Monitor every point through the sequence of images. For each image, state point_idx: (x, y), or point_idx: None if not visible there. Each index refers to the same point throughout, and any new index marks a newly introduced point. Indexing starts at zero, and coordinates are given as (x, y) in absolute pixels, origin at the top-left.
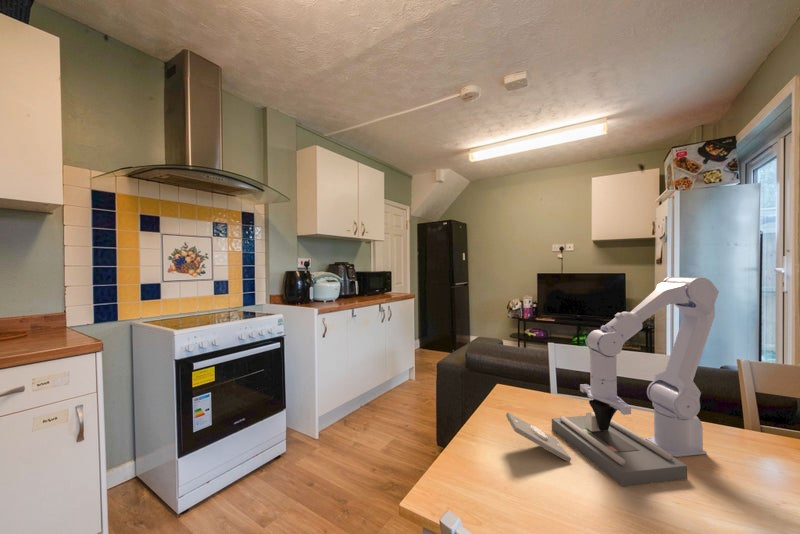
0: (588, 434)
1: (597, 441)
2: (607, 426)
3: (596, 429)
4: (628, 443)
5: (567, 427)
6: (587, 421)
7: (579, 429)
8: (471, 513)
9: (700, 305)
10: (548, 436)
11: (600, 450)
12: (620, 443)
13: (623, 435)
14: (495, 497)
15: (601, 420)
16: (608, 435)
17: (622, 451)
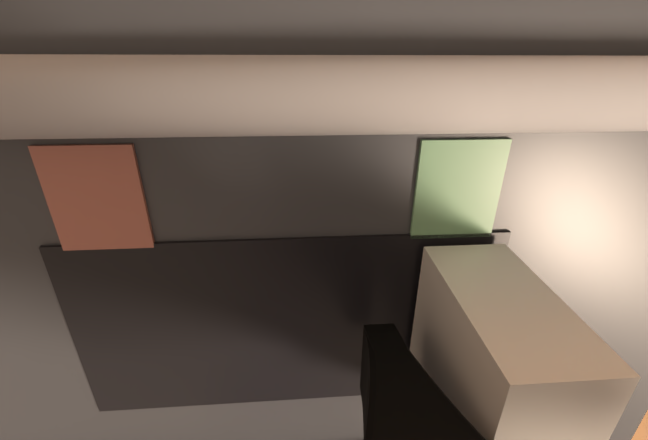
0: (296, 112)
1: (95, 99)
2: (364, 414)
3: (422, 306)
4: (199, 402)
5: (611, 40)
6: (527, 293)
7: (449, 82)
8: None
9: None
10: None
11: None
12: (199, 351)
13: (320, 436)
14: None
15: (366, 434)
16: (338, 345)
17: (56, 283)
